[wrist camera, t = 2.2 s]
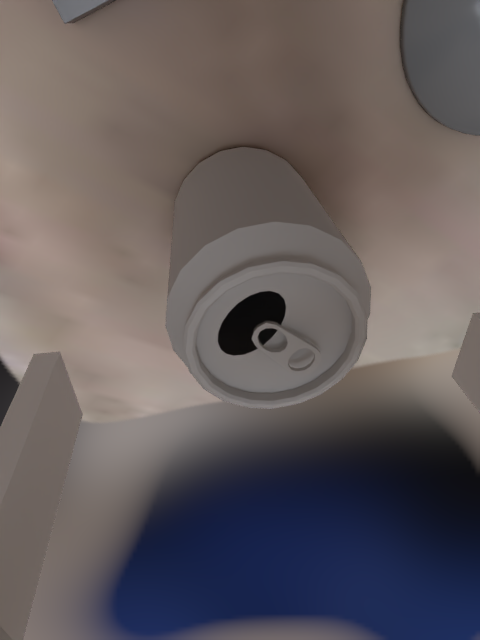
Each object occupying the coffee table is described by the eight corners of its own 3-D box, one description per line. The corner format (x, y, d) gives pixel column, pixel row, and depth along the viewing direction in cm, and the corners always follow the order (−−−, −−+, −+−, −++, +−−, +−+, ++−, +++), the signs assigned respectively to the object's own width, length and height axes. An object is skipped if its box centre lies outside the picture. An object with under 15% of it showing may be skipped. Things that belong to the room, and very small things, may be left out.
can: (224, 110, 20) (256, 193, 11) (334, 195, 24) (436, 320, 14) (148, 230, 24) (120, 379, 14) (254, 291, 27) (291, 448, 17)
